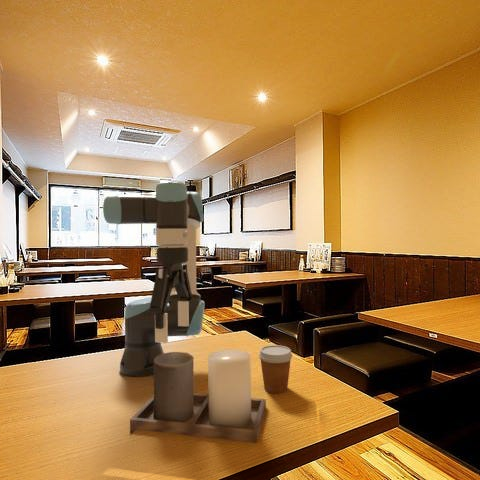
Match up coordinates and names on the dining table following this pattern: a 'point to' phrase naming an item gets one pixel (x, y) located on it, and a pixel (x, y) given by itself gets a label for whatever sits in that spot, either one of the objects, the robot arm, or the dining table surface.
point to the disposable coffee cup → (275, 368)
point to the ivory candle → (229, 388)
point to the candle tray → (200, 421)
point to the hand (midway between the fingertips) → (173, 333)
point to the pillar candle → (173, 387)
